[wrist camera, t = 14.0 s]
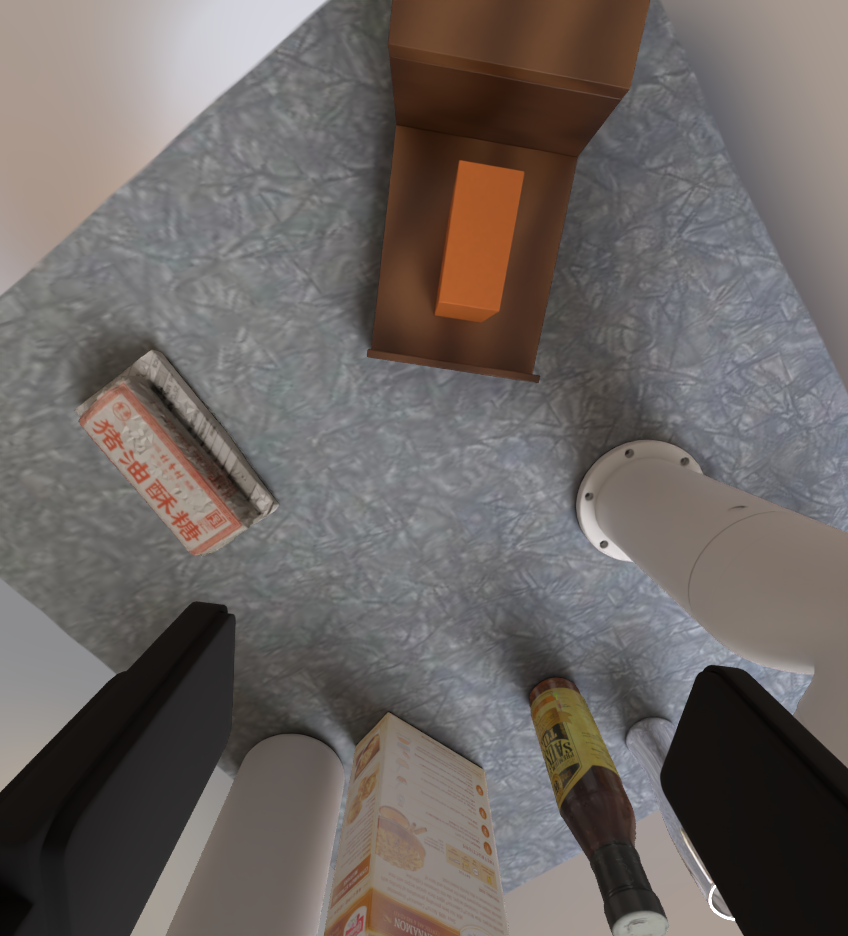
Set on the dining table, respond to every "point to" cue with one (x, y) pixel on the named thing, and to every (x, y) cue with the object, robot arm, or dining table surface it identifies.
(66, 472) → the dining table surface
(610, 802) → the sauce bottle
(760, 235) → the dining table surface
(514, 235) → the shelf
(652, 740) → the beer glass
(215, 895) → the cylinder vase
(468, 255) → the block
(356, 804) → the coffeecake box
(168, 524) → the packaged product
